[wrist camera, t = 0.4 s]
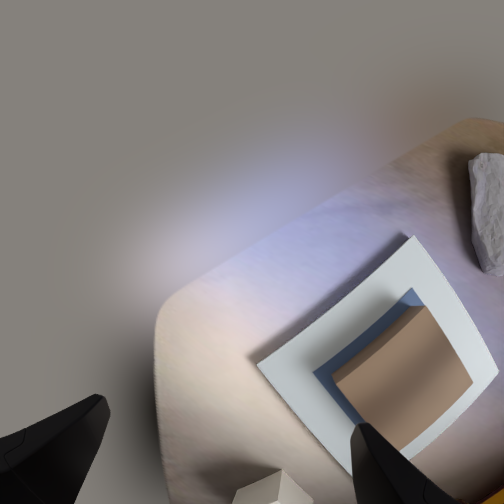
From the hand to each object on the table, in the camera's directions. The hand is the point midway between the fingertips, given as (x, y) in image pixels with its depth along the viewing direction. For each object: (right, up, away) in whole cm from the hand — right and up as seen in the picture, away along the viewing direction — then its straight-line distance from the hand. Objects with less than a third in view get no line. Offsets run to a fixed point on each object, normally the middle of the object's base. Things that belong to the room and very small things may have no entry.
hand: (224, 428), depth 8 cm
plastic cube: (+3, -16, +10) cm, 20 cm away
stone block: (+25, +9, +12) cm, 29 cm away
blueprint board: (+12, -4, +11) cm, 17 cm away
